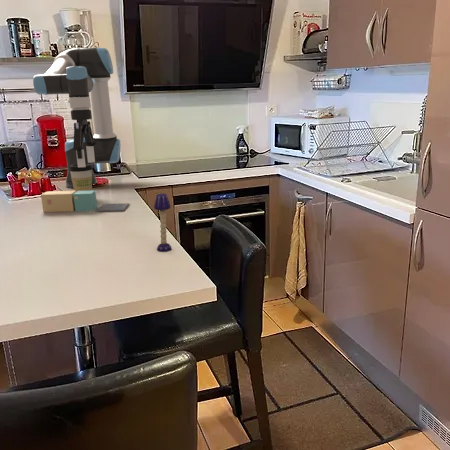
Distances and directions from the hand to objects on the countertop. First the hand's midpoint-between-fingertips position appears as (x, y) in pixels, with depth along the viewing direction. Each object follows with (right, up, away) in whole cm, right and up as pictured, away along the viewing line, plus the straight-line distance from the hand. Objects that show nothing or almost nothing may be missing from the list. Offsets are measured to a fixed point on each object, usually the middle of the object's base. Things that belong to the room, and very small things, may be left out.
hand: (86, 164), depth 183 cm
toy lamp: (+37, -31, -46) cm, 67 cm away
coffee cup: (-8, -13, +22) cm, 26 cm away
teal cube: (-1, -17, +4) cm, 18 cm away
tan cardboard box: (-12, -18, +4) cm, 21 cm away
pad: (+9, -17, +4) cm, 20 cm away
